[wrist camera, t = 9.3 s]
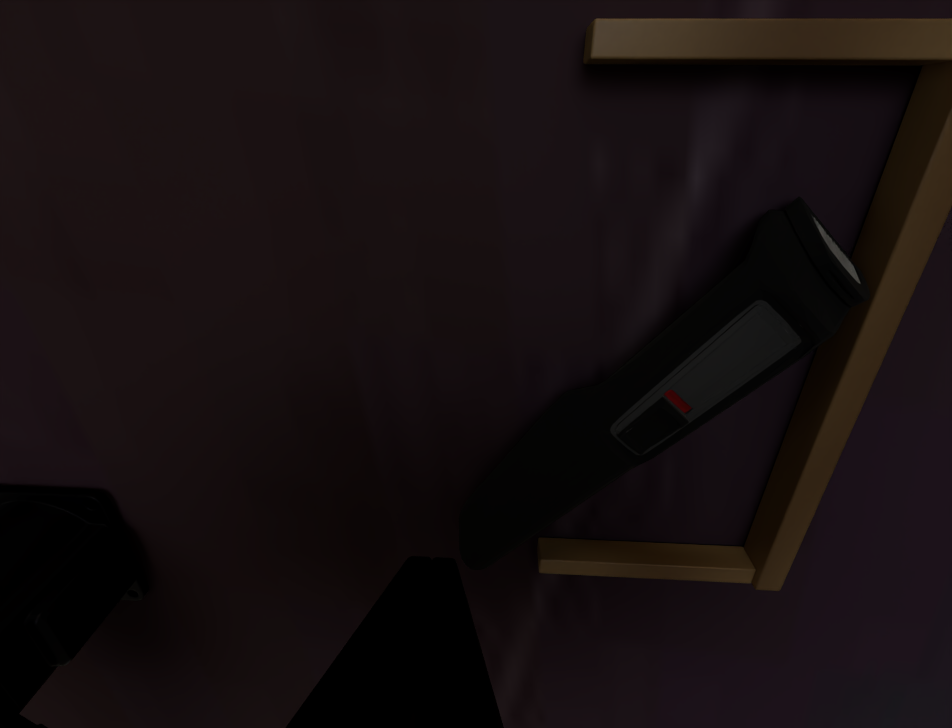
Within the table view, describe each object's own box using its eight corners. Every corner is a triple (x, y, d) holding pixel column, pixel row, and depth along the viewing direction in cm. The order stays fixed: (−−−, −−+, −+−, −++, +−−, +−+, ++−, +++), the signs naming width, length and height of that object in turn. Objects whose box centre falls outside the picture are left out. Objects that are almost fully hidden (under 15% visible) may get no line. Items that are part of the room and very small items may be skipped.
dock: (537, 550, 20) (539, 579, 19) (586, 27, 12) (596, 15, 11) (761, 560, 20) (780, 591, 19) (977, 27, 12) (1039, 15, 10)
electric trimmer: (437, 483, 19) (425, 545, 16) (785, 182, 13) (858, 200, 11) (505, 530, 20) (504, 597, 17) (855, 270, 14) (939, 308, 12)
